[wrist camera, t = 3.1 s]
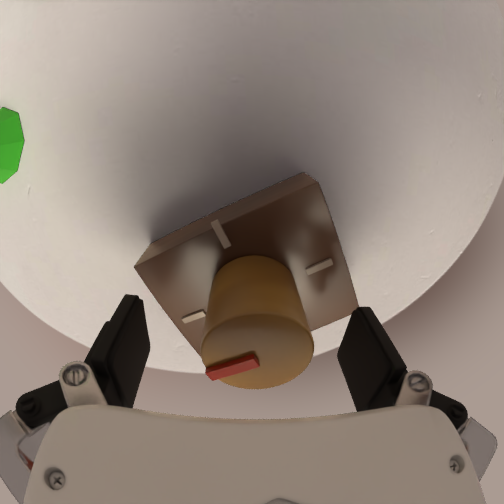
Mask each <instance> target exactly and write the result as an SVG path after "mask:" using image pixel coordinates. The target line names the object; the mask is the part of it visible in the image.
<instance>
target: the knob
mask: <svg viewBox="0 0 504 504" xmlns="http://www.w3.org/2000/svg"><path fill="white" fill-rule="evenodd" d="M200 352H201V358H202V361H203V363H204V365H205V367H206V372H205V373H206V375H207V376H208V377H209V378H210V379H211V380H217V379H219V380H220V381H222V382H224V383H226V384H228V385H232V386H235V387H239V388H244V389H264V388H271V387H275V386H279V385H281V384H284V383H286V382H288V381H290V380H292V379H294V378H295V377H297V376H298V375H300V374H301V373H302V372H303V371H304V370H305V369H306V367H307V366H308V365H309V363H310V361H311V359H312V356H313V353H314V341H313V337H312V334H311V331H310V327H309V324H308V321H307V318H306V314H305V311H304V308H303V305H302V302H301V298H300V295H299V292H298V289H297V286H296V283H295V280H294V277H293V276H292V274H291V272H290V271H289V270H288V269H287V268H286V267H285V266H284V265H283V264H281V263H280V262H278V261H276V260H274V259H272V258H269V257H265V256H258V255H251V256H244V257H240V258H237V259H235V260H233V261H231V262H229V263H227V264H226V265H224V266H223V267H222V268H221V269H220V270H219V271H218V272H217V274H216V275H215V277H214V279H213V281H212V285H211V290H210V295H209V301H208V306H207V312H206V318H205V324H204V330H203V336H202V342H201V351H200Z"/></svg>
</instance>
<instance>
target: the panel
mask: <svg viewBox="0 0 504 504" xmlns="http://www.w3.org/2000/svg"><path fill="white" fill-rule="evenodd" d="M251 255H258V256H265V257H269V258H272V259H274V260H276V261H278V262H280V263H281V264H283V265H284V266H285V267H286V268H287V269H288V270H289V271H290V272H291V274H292V276H293V277H294V280H295V283H296V286H297V289H298V292H299V295H300V298H301V302H302V305H303V308H304V311H305V314H306V318H307V321H308V324H309V327H310V331H313V330H315V329H318V328H320V327H323V326H325V325H327V324H330V323H332V322H335V321H337V320H339V319H342V318H344V317H346V316H348V315H351V314H352V312H353V311H354V310H356V308H357V307H359V305H358V302H357V298H356V294H355V291H354V287H353V284H352V280H351V277H350V273H349V270H348V267H347V264H346V260H345V257H344V254H343V251H342V248H341V245H340V242H339V239H338V236H337V233H336V230H335V227H334V224H333V221H332V218H331V215H330V212H329V210H328V207H327V204H326V201H325V199H324V196H323V193H322V191H321V188H320V185H319V183H318V182H317V181H316V180H314V179H313V178H312V177H310V176H309V175H307V174H306V173H305V172H303V173H301V174H298V175H296V176H294V177H291V178H289V179H287V180H284V181H282V182H280V183H277V184H275V185H273V186H270V187H268V188H266V189H264V190H261V191H259V192H257V193H255V194H252V195H250V196H248V197H246V198H244V199H241V200H239V201H237V202H235V203H233V204H230V205H228V206H226V207H224V208H222V209H220V210H218V211H216V212H214V213H211V214H209V215H207V216H205V217H203V218H201V219H199V220H197V221H195V222H193V223H191V224H189V225H187V226H185V227H183V228H181V229H179V230H177V231H175V232H173V233H171V234H169V235H167V236H165V237H163V238H161V239H159V240H157V241H155V242H153V243H151V244H150V245H149V246H148V248H147V249H146V251H145V252H144V253H143V255H142V256H141V258H140V259H139V260H138V262H137V263H136V265H135V266H134V268H135V270H136V271H137V273H138V274H139V276H140V277H141V279H142V280H143V281H144V283H145V284H146V286H147V287H148V289H149V290H150V292H151V293H152V294H153V296H154V297H155V299H156V300H157V301H158V303H159V304H160V305H161V307H162V308H163V309H164V311H165V312H166V314H167V315H168V316H169V318H170V319H171V320H172V321H173V323H174V324H175V325H176V327H177V328H178V329H179V331H180V332H181V333H182V334H183V336H184V337H185V338H186V339H187V341H188V342H189V343H190V344H191V346H192V347H193V348H194V349H195V350H196V352H197V353H198V354H199V355H200V356H201V352H200V351H201V342H202V336H203V330H204V324H205V318H206V312H207V306H208V301H209V295H210V290H211V285H212V281H213V279H214V277H215V275H216V274H217V272H218V271H219V270H220V269H221V268H222V267H223V266H224V265H226V264H227V263H229V262H231V261H233V260H235V259H237V258H240V257H244V256H251Z"/></svg>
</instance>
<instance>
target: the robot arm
mask: <svg viewBox="0 0 504 504" xmlns="http://www.w3.org/2000/svg"><path fill="white" fill-rule="evenodd" d="M149 352H150V341H149V335H148V330H147V324H146V318H145V311H144V305H143V300H142V299H139V297H138V296H137V295H128V294H126V295H125V296H124V297H123V299H122V301H121V302H120V304H119V306H118V308H117V309H116V311H115V313H114V315H113V316H112V318H111V320H110V321H107V322H106V323H105V324H104V326H103V327H102V329H101V331H100V333H99V335H98V336H97V338H96V340H95V342H94V344H93V346H92V347H91V349H90V351H89V353H88V355H87V357H86V359H85V361H84V362H81V361H74V362H70V363H68V364H66V365H65V366H64V367H63V368H62V369H61V370H60V373H59V380H58V381H55V382H53V383H50V384H48V385H45V386H43V387H41V388H38V389H36V390H33V391H31V392H28V393H25V394H23V395H22V396H21V397H20V398H19V399H18V401H17V403H16V410H15V411H13V412H12V411H11V410H10V411H9V412H7V413H6V414H5V415H3V416H2V417H1V418H0V477H1V478H2V480H3V481H4V483H5V484H6V486H7V487H8V489H9V490H10V492H11V493H12V494H13V496H14V497H15V498H16V500H17V501H18V502H19V504H486V502H485V498H484V495H483V492H482V488H481V486H480V483H479V482H480V480H481V478H482V476H483V475H484V473H485V471H486V469H487V467H488V465H489V463H490V461H491V459H492V457H493V455H494V453H495V451H496V448H497V440H496V437H495V436H494V435H493V434H492V433H491V432H489V431H488V430H487V429H486V428H484V427H483V426H482V425H481V424H479V423H478V422H477V421H476V420H474V419H473V418H472V417H470V418H469V419H468V418H467V417H468V414H467V410H466V408H465V407H464V405H463V404H461V403H460V402H458V401H456V400H454V399H451V398H449V397H447V396H445V395H443V394H440V393H438V392H436V391H434V390H432V388H433V384H432V381H431V379H430V378H429V376H428V375H426V374H425V373H423V372H421V371H415V370H413V371H410V372H408V371H407V370H406V368H407V367H406V365H405V363H404V361H403V360H402V358H401V356H400V355H399V353H398V351H397V350H396V348H395V346H394V345H393V343H392V341H391V340H390V338H389V336H388V335H387V333H386V331H385V330H384V328H383V327H382V325H381V323H380V322H379V320H378V319H377V317H376V316H375V314H374V312H373V311H372V309H371V308H370V307H357V308H356V310H354V311H353V312H352V315H351V318H350V321H349V323H348V326H347V329H346V332H345V334H344V337H343V340H342V342H341V345H340V347H339V350H338V354H337V357H338V361H339V364H340V366H341V369H342V371H343V374H344V376H345V379H346V382H347V385H348V388H349V390H350V393H351V396H352V399H353V401H354V404H355V407H356V410H357V412H353V413H345V414H338V415H329V416H320V417H308V418H291V419H221V418H206V417H194V416H184V415H175V414H166V413H159V412H152V411H145V410H139V409H133V404H134V401H135V397H136V394H137V390H138V387H139V384H140V381H141V377H142V374H143V371H144V368H145V365H146V361H147V358H148V355H149Z"/></svg>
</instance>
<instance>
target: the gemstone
mask: <svg viewBox="0 0 504 504" xmlns="http://www.w3.org/2000/svg"><path fill="white" fill-rule="evenodd" d="M23 144H24V138H23V133H22V129H21V124H20V120H19V115H18V113H16V112H14V111H12V110H9V109H7V108H4V107H2V108H1V109H0V183H2V184H3V183H4V182H5V181H6V180H7V179H8V178H10V177H11V176H12V175H13V174H14V173H15V172H17V170H18V165H19V160H20V156H21V152H22V148H23Z"/></svg>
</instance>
